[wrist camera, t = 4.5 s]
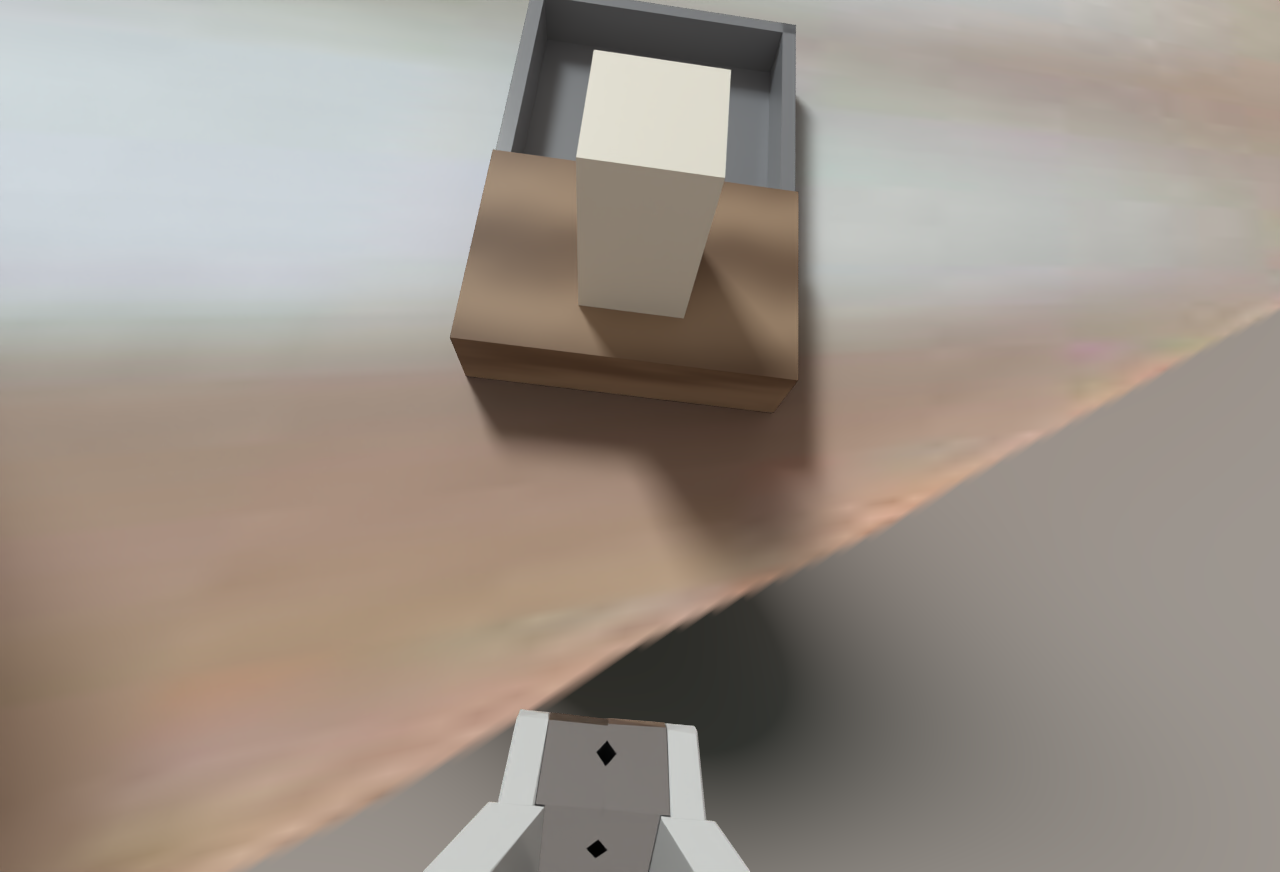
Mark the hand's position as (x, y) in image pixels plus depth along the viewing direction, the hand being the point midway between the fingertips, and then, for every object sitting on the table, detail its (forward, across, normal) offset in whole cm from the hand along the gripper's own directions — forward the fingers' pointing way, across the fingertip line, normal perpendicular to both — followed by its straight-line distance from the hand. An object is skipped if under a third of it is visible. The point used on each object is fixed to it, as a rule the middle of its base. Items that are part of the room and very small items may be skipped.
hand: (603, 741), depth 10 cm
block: (+23, 0, +4) cm, 23 cm away
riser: (+26, 0, +2) cm, 26 cm away
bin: (+35, 0, +10) cm, 36 cm away
